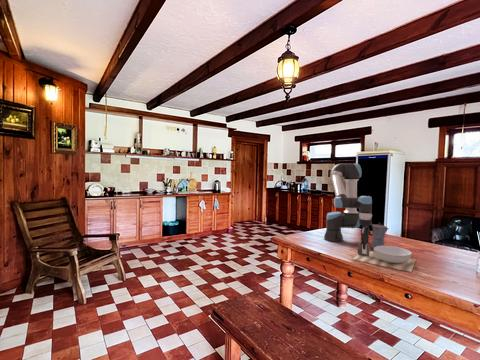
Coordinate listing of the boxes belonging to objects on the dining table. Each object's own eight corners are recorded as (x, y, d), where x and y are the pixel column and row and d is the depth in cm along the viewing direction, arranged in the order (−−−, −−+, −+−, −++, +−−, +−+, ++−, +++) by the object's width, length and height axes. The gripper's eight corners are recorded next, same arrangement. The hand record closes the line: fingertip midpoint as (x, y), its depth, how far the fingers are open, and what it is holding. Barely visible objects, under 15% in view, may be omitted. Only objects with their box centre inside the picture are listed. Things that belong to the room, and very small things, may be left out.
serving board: (352, 259, 165) (352, 246, 165) (362, 250, 185) (362, 238, 184) (411, 272, 145) (411, 257, 145) (415, 260, 164) (416, 247, 164)
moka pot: (385, 252, 181) (386, 224, 180) (363, 247, 193) (364, 221, 192) (390, 249, 187) (391, 222, 186) (369, 245, 199) (369, 219, 198)
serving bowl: (377, 253, 177) (377, 243, 176) (413, 259, 163) (413, 249, 163) (370, 261, 161) (370, 250, 160) (409, 269, 147) (409, 257, 147)
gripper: (368, 221, 163) (368, 257, 164) (374, 218, 175) (373, 251, 176) (356, 219, 168) (355, 254, 169) (362, 216, 180) (361, 249, 180)
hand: (364, 253), depth 172 cm, fingers closed on serving board, 2 cm apart
